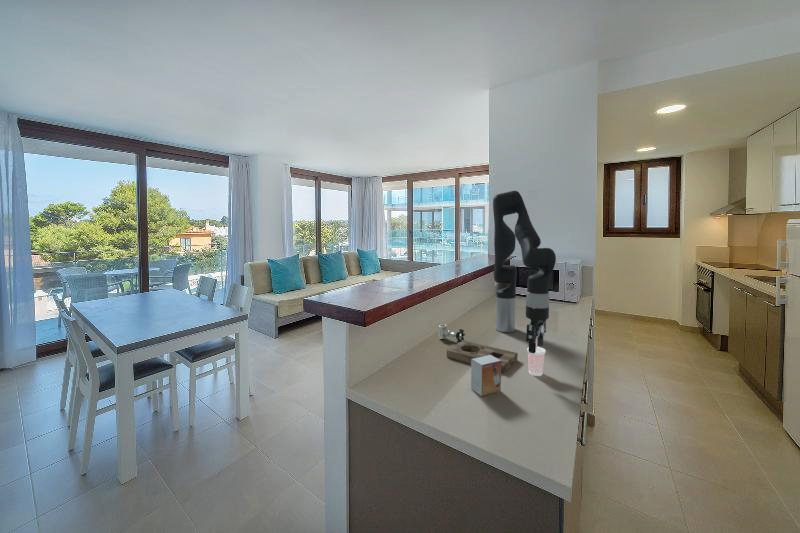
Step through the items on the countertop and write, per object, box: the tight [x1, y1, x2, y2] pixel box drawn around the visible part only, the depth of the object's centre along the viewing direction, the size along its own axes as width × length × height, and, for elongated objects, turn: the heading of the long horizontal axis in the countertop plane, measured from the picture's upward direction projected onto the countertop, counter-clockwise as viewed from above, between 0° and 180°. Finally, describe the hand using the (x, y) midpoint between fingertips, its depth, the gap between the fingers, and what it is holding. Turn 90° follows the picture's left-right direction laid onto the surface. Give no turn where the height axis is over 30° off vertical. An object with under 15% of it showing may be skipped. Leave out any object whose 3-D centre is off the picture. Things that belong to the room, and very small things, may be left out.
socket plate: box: [446, 339, 519, 374], centre depth 128 cm, size 14×24×3 cm, turn 50°
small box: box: [470, 355, 502, 397], centre depth 104 cm, size 8×6×10 cm
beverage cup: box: [526, 340, 546, 377], centre depth 114 cm, size 6×6×14 cm
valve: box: [437, 323, 466, 344], centre depth 149 cm, size 7×7×12 cm
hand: (535, 349), depth 114 cm, fingers open, 8 cm apart
